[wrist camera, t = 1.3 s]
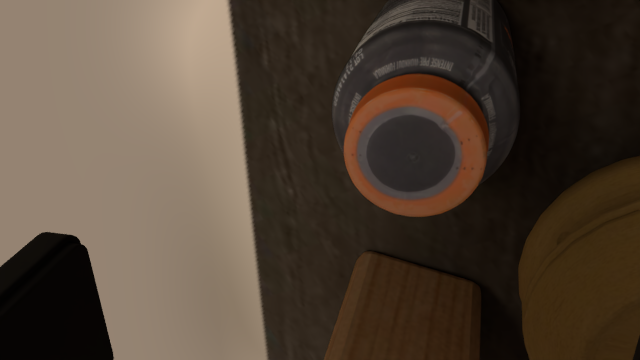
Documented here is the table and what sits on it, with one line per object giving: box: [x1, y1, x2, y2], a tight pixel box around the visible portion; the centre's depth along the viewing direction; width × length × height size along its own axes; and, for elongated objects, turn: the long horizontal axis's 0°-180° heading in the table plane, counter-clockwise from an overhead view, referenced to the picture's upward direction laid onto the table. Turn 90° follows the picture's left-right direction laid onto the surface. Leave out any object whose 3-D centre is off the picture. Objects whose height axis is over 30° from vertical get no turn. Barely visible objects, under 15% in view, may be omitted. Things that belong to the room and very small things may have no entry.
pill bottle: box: [332, 0, 520, 217], centre depth 22 cm, size 6×6×11 cm
